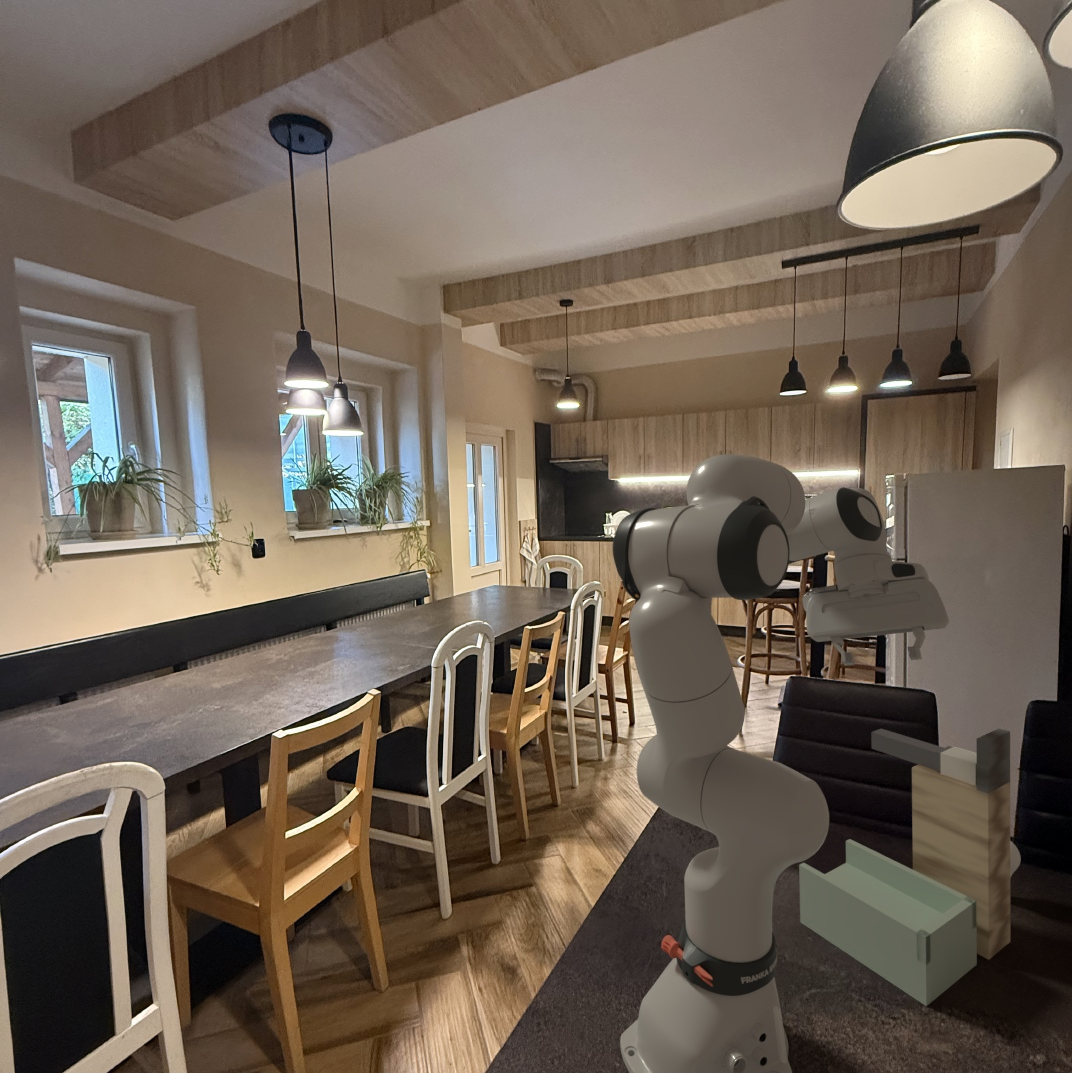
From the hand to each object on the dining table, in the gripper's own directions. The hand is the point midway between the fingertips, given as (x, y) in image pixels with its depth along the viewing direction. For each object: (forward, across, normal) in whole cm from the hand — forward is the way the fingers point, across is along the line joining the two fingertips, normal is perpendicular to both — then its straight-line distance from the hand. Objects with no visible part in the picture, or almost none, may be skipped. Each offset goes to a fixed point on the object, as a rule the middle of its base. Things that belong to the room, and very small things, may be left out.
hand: (881, 661), depth 94 cm
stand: (+38, 0, +27) cm, 47 cm away
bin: (+40, -10, +18) cm, 45 cm away
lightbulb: (+34, +6, +39) cm, 52 cm away
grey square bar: (+13, +1, +18) cm, 22 cm away
